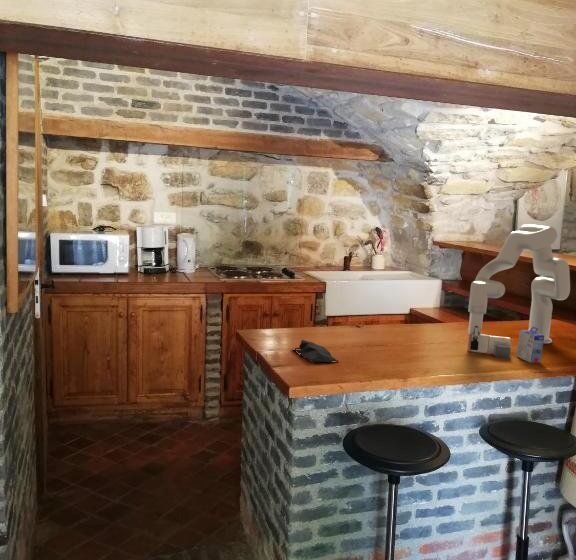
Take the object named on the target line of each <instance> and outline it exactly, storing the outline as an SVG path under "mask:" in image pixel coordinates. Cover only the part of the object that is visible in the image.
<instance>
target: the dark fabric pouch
mask: <svg viewBox="0 0 576 560" xmlns="http://www.w3.org/2000/svg"><path fill="white" fill-rule="evenodd" d="M299 347H300V348H299ZM296 349H301V350H296ZM295 351H297V352H298V353H301V354H300V355H302V356H303V357H305V358H306V359H308V360H309V361H308V360H307V361H308V362H310V361H311V362H310V363H312V362H319V363H320V362H332V361H339V360H338V359H337V358H336V357H334V356H333V357H334V358H333V357H332V356H331V354H332V353H331V352H330V351H329V350H328V349H327V348H326V347H324V346H322V345H319V344H317V343H314V342H313V341H308V340H304V339H302V340H301V341H300V344H299V346H298V347H295ZM295 351H294V352H295ZM330 353H331V354H330ZM302 356H301V357H302ZM303 357H302V358H303ZM306 359H305V360H306Z"/></svg>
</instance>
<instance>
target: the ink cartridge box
mask: <svg viewBox="0 0 576 560" xmlns="http://www.w3.org/2000/svg"><path fill="white" fill-rule="evenodd" d="M532 329H536V331H534V330H532ZM537 330H538V328H536V327H532V328H531V329H530V330H528V329H520V330H519V334H518V335H519V336H518V341H517V342H518V343H517V348H516V354H515V355H516V356H515V357H517V358H520V359H521V360H524V361H526V362H528V363H530V364H533V363H534V364H535V363H536V364H541V363H542V355H543V354H542V353H543V347H544V344H543V342H544V335H541V334H539V333H536V332H537Z"/></svg>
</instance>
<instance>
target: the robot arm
mask: <svg viewBox="0 0 576 560" xmlns="http://www.w3.org/2000/svg"><path fill="white" fill-rule="evenodd" d="M519 227H520V228H519V230H515V231H514V230H513V231H511V232H510V233H509V234H508V236H507V238H506V240H505V242H504V243H503V245H502V247H501V249H500V251H499V253H498V254H497V256H496V257H495V258H494V259H492V260H491V261H489V262H488V263H486V264H485V265H484V266H483V267H481V269H480V270H479V272H478V273H477V275H476V277H475V279H474V281H472V282H471V283H470V291H469V302H468V311H467V312H469V322H468V328H467V330H468V335H469V334H470V335H471V334H472V341H471V346H470V349H471V350H478V343H479V342H478V338H479V335H480V334H482V328H483V327H482V326H483V319H484V315H485V314H487V308H488V298H489V299H490V298H491V299H499V298H501V297H503V295H505V293H506V287H505V285H504V283H502V282H500V281H497V280H492V279H490V278H492V276H493V275H495V274H497V273H499V272H501V271H504V270H508V269H511V268H512V269H513V267H515V266H516V264H517V262H518V260H519V258H520V256H521V255H522V253H523V252H525V251H526V252H531V254H532V266H533V271H534V273H535V274H536V275H538V276H537V277H535V278H534V279H533V280H532V281H531V287H530V288H531V291H530V292H531V306H530V312H529V321H528V322H529V323H528V329H527V330H530V329H531V328H532V327H536V328H538V330H537V332H536V333H539V334H541V335H544V342H543V345H544V344H545V345H547V344H548V345H549V344H551V343H552V342H553V340H552V338H550V332H551V331H550V330H551V322H552V313H553V302H552V300H557V301H564V300H567V298H568V297H569V295H570V293H571V277H570V276H571V275H570V266H569V263H568V261H566V260H565V259H564V258H561V257H560V258H559V257H554V255H553V250H552V248H553V247H552V245H553V244H554V243H555V242H556V241H557V238H558V232H557V229H555V228H554V227H553V226H548V225H540V224H530V223H528V224H526V223H525V224H522V225H521V226H519ZM532 330H534V331H536V329H532ZM473 333H475V334H473ZM473 336H474V337H473Z"/></svg>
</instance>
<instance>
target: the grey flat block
mask: <svg viewBox="0 0 576 560" xmlns="http://www.w3.org/2000/svg"><path fill="white" fill-rule="evenodd" d="M473 334H475V333H473ZM473 337H474V336H473ZM488 338H489V335H488V334H486V333H485V334H484V333H481V334H480V335H479V338H478V342H479V343H478V350H471V349H470V346H471V341H472V334H471V335H470V334H469V333H468V340H467V341H468V343H467V352H473V353H475V352H476V353H481V354H482V353H483V354H484V353H485V354H487V347H488Z"/></svg>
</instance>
